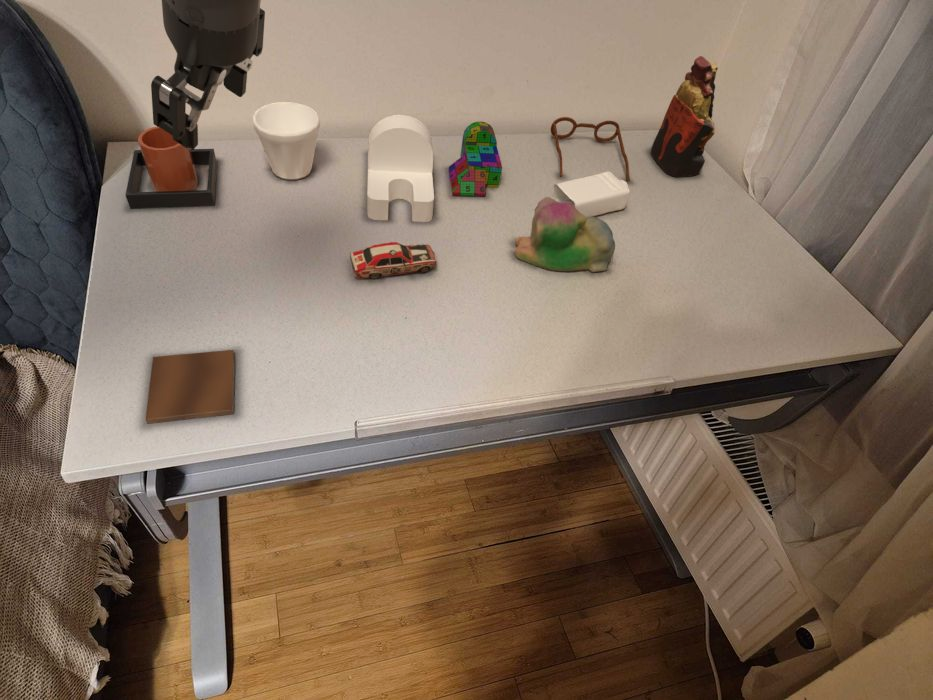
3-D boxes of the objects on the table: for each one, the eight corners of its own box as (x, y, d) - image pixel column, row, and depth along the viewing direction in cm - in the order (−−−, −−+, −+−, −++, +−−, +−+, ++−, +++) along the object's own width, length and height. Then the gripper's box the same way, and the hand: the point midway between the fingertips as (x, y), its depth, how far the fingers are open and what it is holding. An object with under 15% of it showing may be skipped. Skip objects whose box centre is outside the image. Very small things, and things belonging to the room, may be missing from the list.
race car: (353, 266, 89) (346, 242, 86) (433, 252, 91) (430, 228, 87) (356, 290, 86) (350, 266, 83) (439, 275, 88) (437, 251, 84)
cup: (263, 152, 103) (255, 99, 96) (324, 154, 104) (320, 102, 97) (257, 187, 96) (248, 133, 89) (322, 189, 98) (318, 136, 91)
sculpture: (594, 236, 98) (612, 183, 91) (615, 272, 93) (636, 219, 86) (508, 242, 95) (520, 188, 87) (524, 280, 90) (539, 225, 82)
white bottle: (631, 209, 104) (639, 188, 101) (569, 225, 99) (576, 203, 96) (608, 188, 108) (616, 167, 105) (548, 202, 103) (554, 180, 100)
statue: (703, 178, 114) (754, 72, 99) (665, 179, 112) (711, 71, 97) (676, 143, 121) (719, 39, 106) (640, 143, 119) (678, 38, 104)
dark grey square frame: (130, 209, 89) (125, 194, 88) (138, 164, 97) (134, 149, 95) (214, 205, 92) (211, 192, 90) (216, 162, 99) (213, 148, 97)
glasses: (613, 143, 118) (621, 119, 114) (629, 182, 110) (638, 158, 106) (547, 138, 117) (553, 113, 113) (558, 177, 108) (565, 152, 104)
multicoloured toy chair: (445, 155, 109) (449, 119, 103) (490, 157, 110) (496, 122, 105) (452, 195, 101) (457, 159, 96) (500, 197, 102) (507, 161, 97)
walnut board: (147, 423, 67) (145, 419, 66) (154, 361, 73) (152, 356, 72) (233, 414, 69) (232, 410, 69) (234, 353, 75) (233, 349, 74)
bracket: (432, 222, 96) (438, 158, 87) (367, 219, 94) (366, 154, 86) (427, 154, 108) (431, 92, 99) (369, 151, 106) (368, 88, 98)
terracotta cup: (151, 197, 92) (135, 150, 86) (155, 173, 96) (140, 125, 90) (196, 196, 93) (184, 149, 87) (198, 171, 97) (187, 125, 91)
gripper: (220, -84, 52) (218, 54, 66) (109, 10, 46) (133, 139, 60) (299, -28, 53) (279, 95, 67) (201, 70, 47) (203, 183, 61)
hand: (210, 116), depth 64 cm, fingers open, 8 cm apart
